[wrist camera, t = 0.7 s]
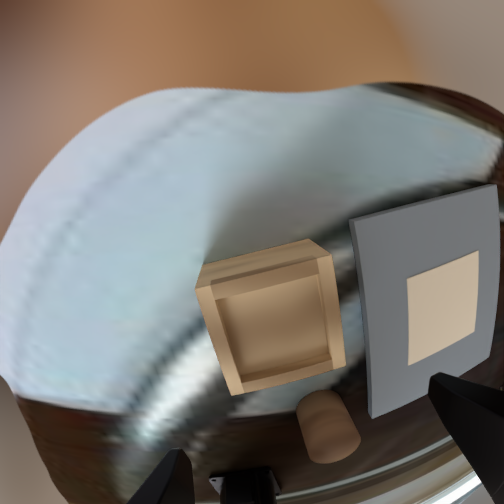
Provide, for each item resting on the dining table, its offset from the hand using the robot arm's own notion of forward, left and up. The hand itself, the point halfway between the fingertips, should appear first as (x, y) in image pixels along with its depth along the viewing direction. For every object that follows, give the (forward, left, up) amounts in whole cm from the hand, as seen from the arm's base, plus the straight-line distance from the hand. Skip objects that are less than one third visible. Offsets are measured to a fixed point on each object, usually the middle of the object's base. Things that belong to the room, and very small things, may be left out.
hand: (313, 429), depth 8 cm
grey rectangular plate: (-5, -14, -12) cm, 19 cm away
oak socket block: (0, 0, -12) cm, 12 cm away
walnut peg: (-11, -2, -12) cm, 16 cm away
